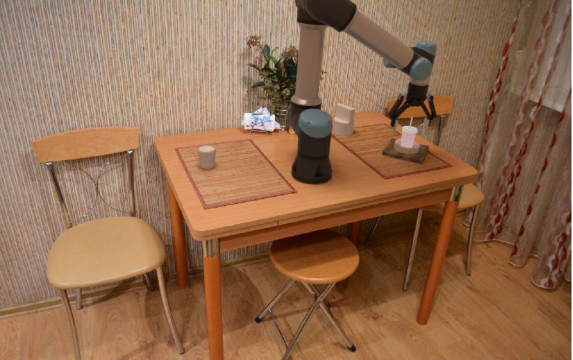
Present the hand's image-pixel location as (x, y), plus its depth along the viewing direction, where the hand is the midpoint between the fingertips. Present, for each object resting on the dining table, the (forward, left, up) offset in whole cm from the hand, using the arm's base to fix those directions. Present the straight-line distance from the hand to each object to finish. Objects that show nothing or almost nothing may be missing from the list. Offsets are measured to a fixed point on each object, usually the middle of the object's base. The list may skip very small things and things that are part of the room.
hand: (408, 134), depth 183 cm
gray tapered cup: (-64, -51, -8) cm, 82 cm away
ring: (0, 0, -7) cm, 7 cm away
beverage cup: (0, 0, -7) cm, 7 cm away
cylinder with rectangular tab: (-30, +7, -8) cm, 32 cm away
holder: (0, 0, -8) cm, 8 cm away
